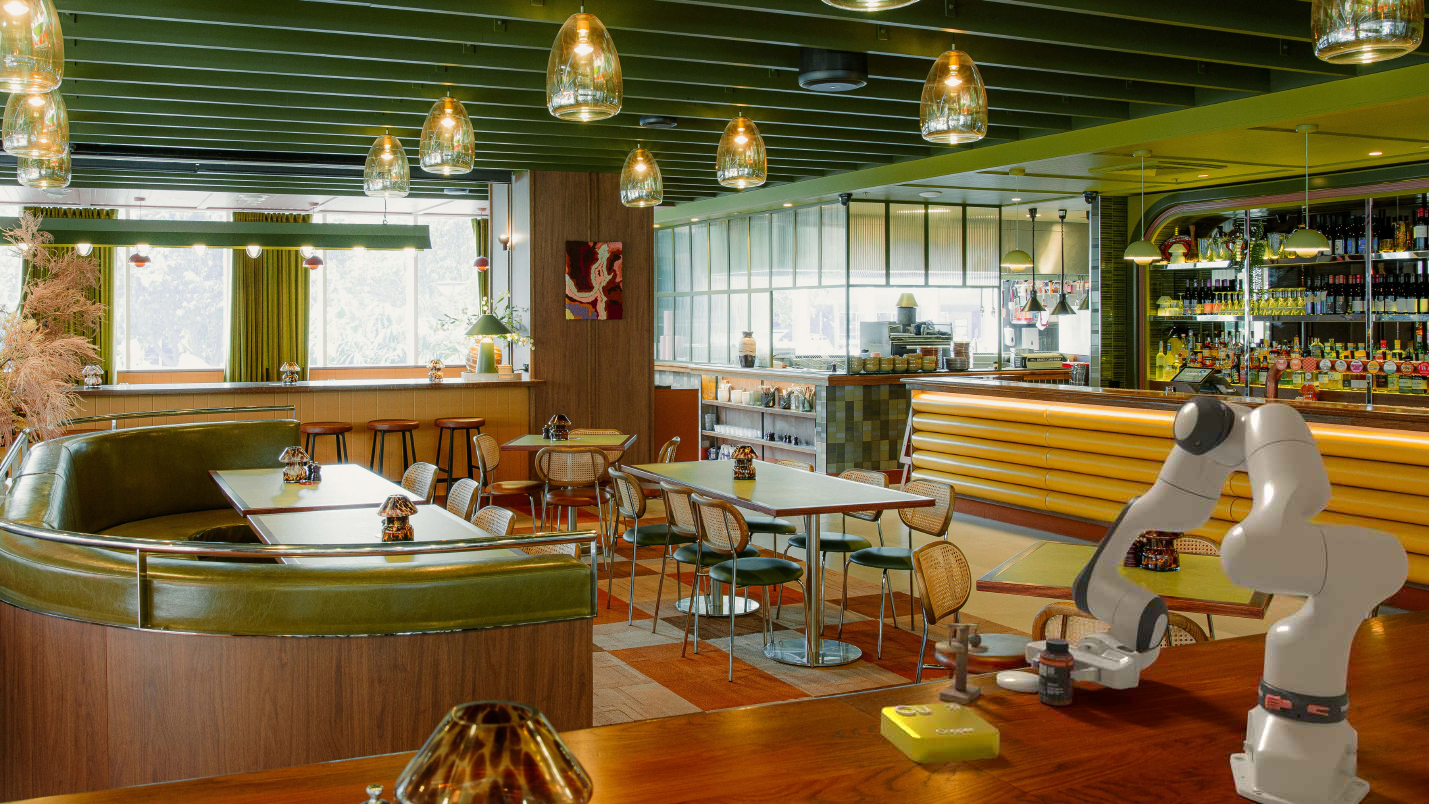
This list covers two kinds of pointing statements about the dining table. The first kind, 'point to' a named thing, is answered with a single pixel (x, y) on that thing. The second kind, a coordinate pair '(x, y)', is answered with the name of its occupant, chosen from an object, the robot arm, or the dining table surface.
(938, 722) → the element tile
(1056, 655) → the supplement bottle
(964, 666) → the balance
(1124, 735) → the dining table surface
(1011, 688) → the dish
